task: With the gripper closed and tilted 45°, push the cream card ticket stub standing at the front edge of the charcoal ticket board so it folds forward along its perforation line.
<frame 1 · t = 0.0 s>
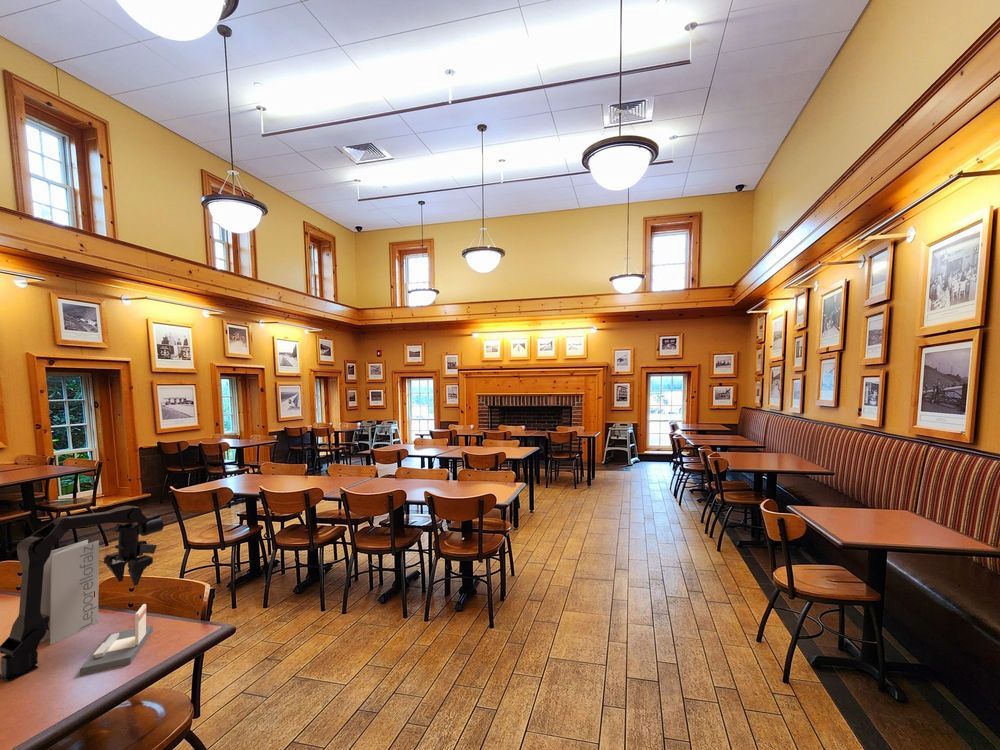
hand: (128, 583, 156), 15 cm above the table, tool pointing down, fingers open, 9 cm apart
ticket board: (119, 651, 138), on the table
brochure: (69, 632, 150), on the table
ticket stub: (140, 623, 141), point 7 cm above the table, hinge at 0.0°
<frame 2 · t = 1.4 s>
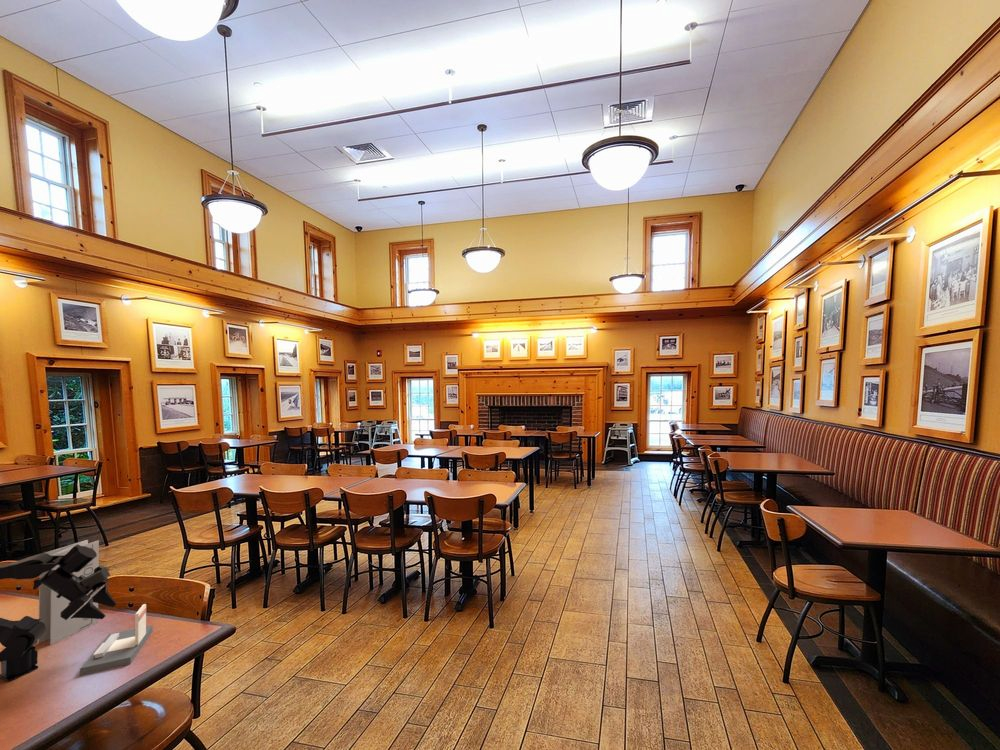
hand: (109, 611, 138), 13 cm above the table, tool tilted 45°, fingers open, 8 cm apart
nothing on the table moved.
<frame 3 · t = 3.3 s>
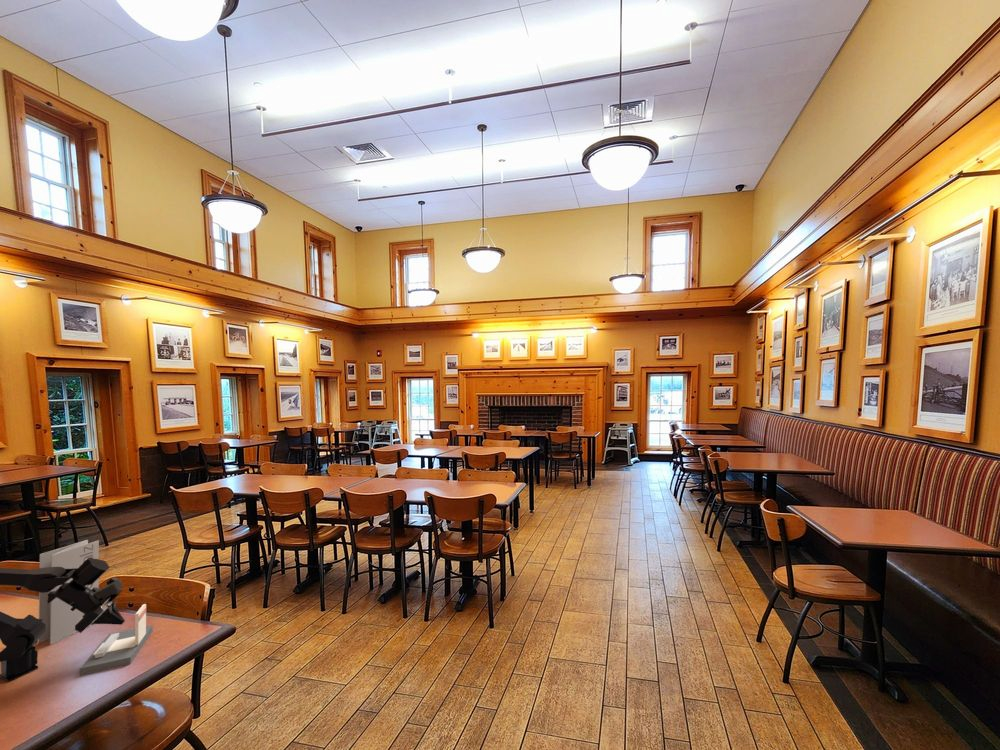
hand: (123, 622, 139), 9 cm above the table, tool tilted 45°, fingers closed
nothing on the table moved.
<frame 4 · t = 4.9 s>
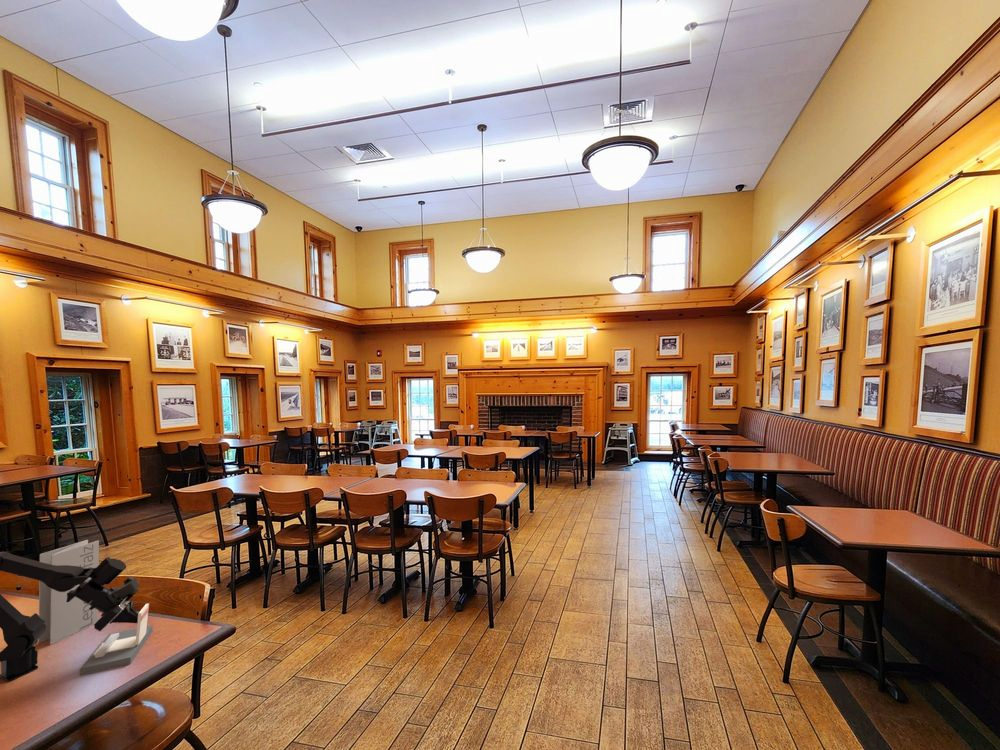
hand: (140, 621, 141), 8 cm above the table, tool tilted 45°, fingers closed, pressing on ticket stub
ticket stub: (142, 623, 141), point 7 cm above the table, hinge at 4.3°, touching gripper
everything else where it was.
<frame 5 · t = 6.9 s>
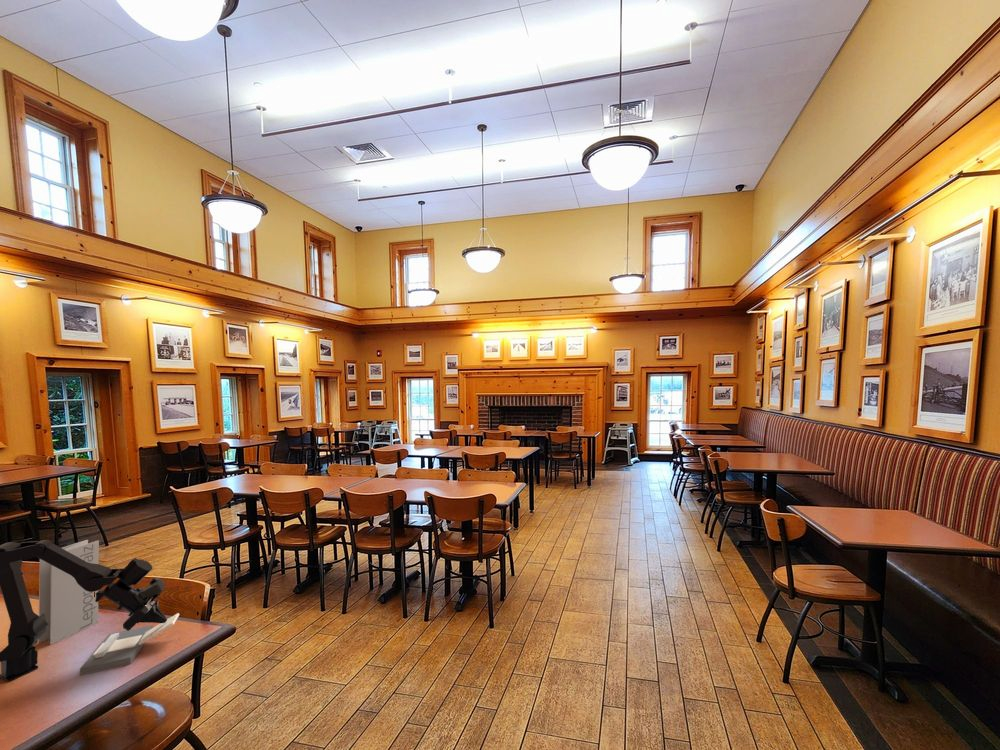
hand: (165, 621, 144), 7 cm above the table, tool tilted 45°, fingers closed
ticket stub: (159, 628, 143), point 5 cm above the table, hinge at 64.1°
everything else where it was.
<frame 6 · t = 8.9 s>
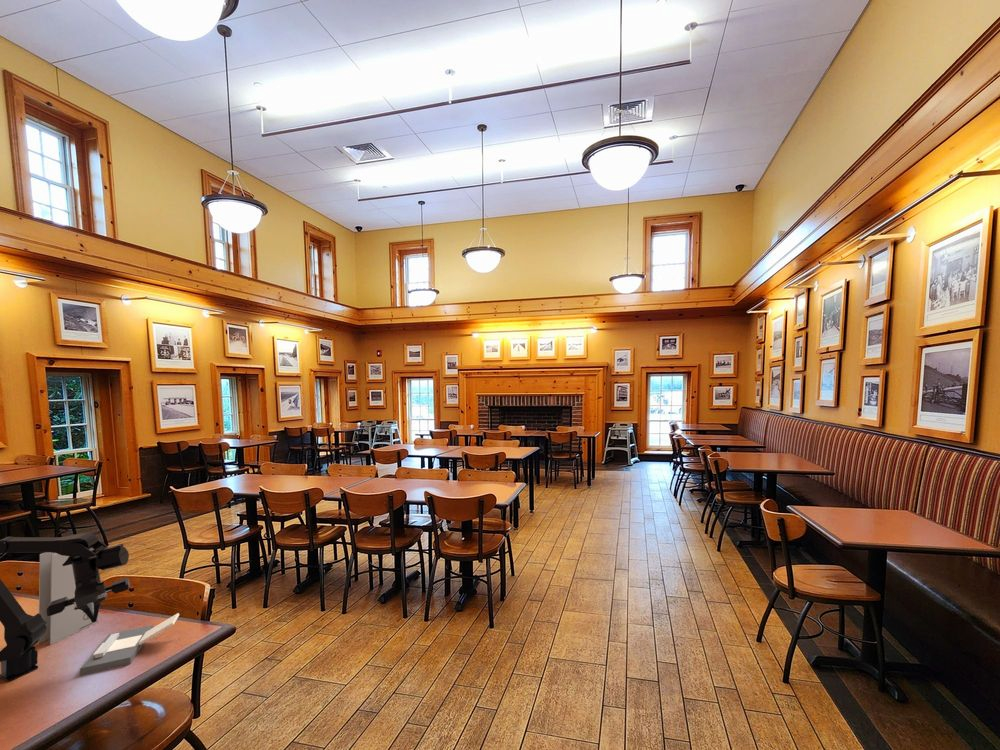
hand: (94, 621, 135), 12 cm above the table, tool pointing down, fingers closed
nothing on the table moved.
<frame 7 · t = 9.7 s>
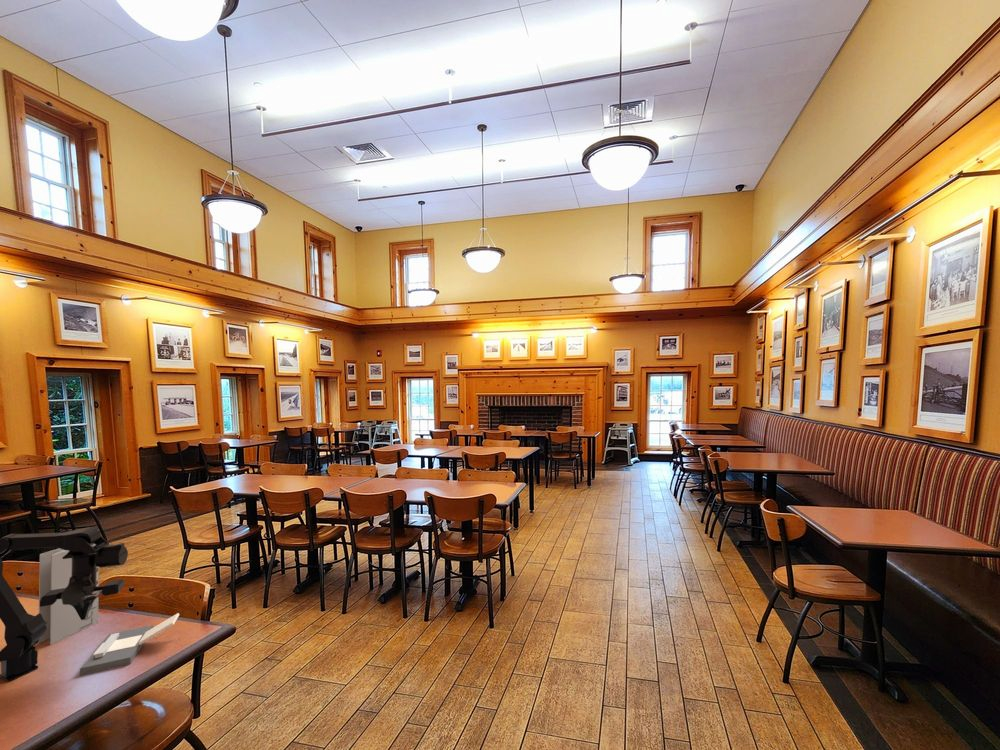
hand: (83, 619, 134), 13 cm above the table, tool pointing down, fingers closed
nothing on the table moved.
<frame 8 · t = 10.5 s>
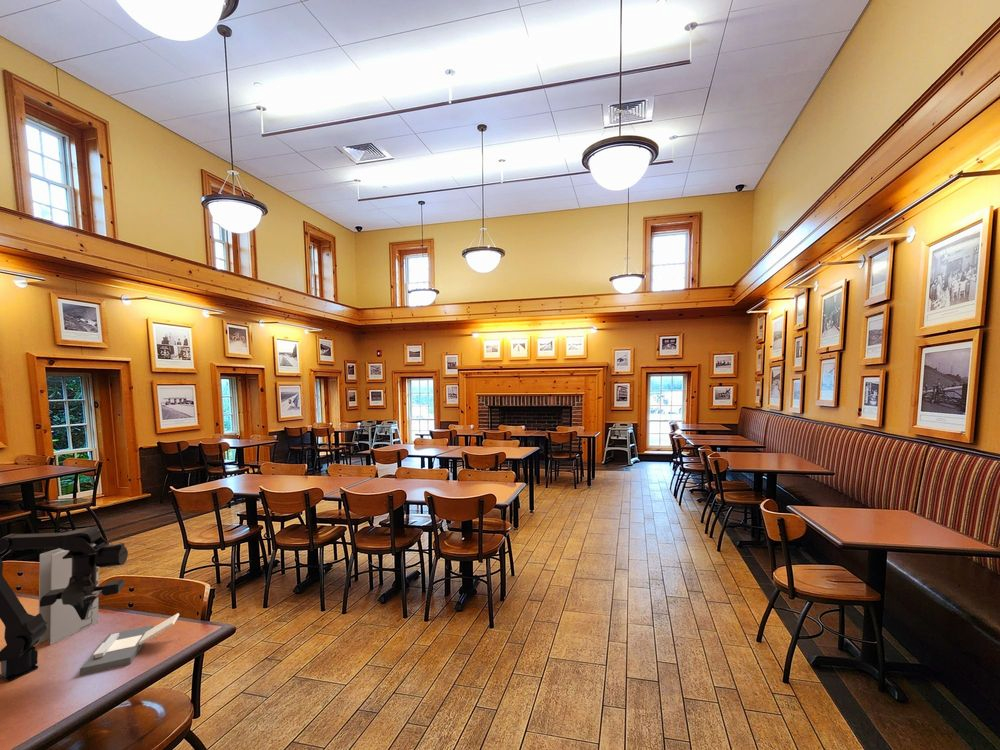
hand: (83, 619, 134), 13 cm above the table, tool pointing down, fingers closed
nothing on the table moved.
at the end: ticket stub at +64° (first picture: +0°); brochure moved 0.2 cm from its start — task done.
